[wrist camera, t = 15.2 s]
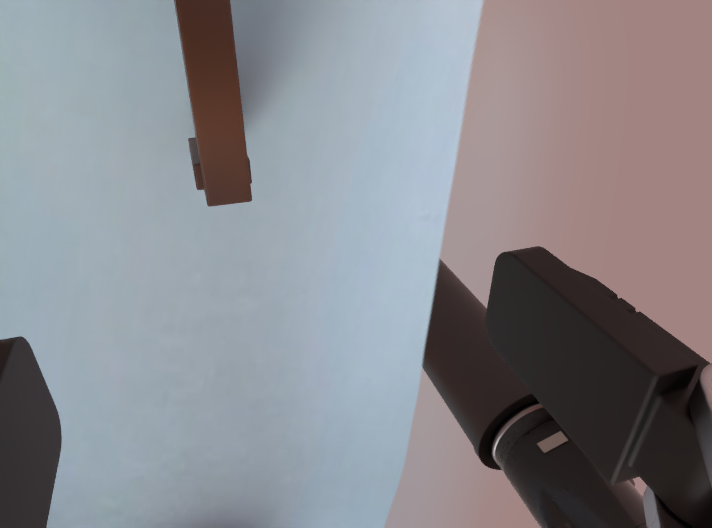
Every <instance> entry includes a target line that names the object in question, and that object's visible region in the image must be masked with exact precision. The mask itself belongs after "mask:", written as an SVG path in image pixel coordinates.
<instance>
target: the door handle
mask: <svg viewBox="0 0 712 528" xmlns="http://www.w3.org/2000/svg"><path fill="white" fill-rule="evenodd" d="M174 2H175V9H176V15H177V21H178V27H179V34H180V40H181V46H182V53H183V59H184V65H185V72H186V78H187V84H188V90H189V97H190V103H191V109H192V116H193V122H194V128H195V135H196V138H189V139H188V141H189V147H190V153H191V159H192V165H193V170H194V176H195V181H196V187H197V190H204V191H205V195H206V200H207V205H208V206H218V205H226V204H234V203H242V202H250V201H252V195H251V186H250V184H251V183H252V179H251V170H250V160H249V158H248V156H247V150H246V141H245V132H244V123H243V114H242V105H241V96H240V87H239V78H238V69H237V59H236V50H235V41H234V32H233V23H232V14H231V5H230V0H174Z"/></svg>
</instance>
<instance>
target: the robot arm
mask: <svg viewBox="0 0 712 528" xmlns="http://www.w3.org/2000/svg"><path fill="white" fill-rule="evenodd" d="M485 324H486V331H487V335H488V338H489V341H490V343H491V345H492V346H493V348H494V349H495V351H496V352H497V353H498V354H499V355H500V357H501V358H502V359H503V360H504V361H505V362H506V364H507V365H508V366H509V367H510V368H511V369H512V371H513V372H514V373H515V374H516V375H517V376H518V377H519V379H520V380H521V381H522V382H523V383H524V384H525V386H526V387H527V388H528V389H529V390H530V391H531V393H532V394H533V395H534V396H535V397H536V398H537V400H538V401H534V402H531V403H529V404H526V405H524V406H522V407H521V408H519V409H517V410H516V411H514V412H513V413H512V414H510V415H509V416H508V417H507V418H506V419H505V420H504V421H503V422H502V423H501V424H500V425H499V426H498V428H497V429H496V431H495V432H494V434H493V436H492V438H491V441H490V446H489V450H490V454H491V456H492V457H493V459H494V460H495V462H496V463H497V464H498V465H499V466H500V468H501V469H502V471H503V472H504V473H505V475H506V476H507V478H508V479H509V481H510V482H511V484H512V486H513V487H514V489H515V490H516V491H517V493H518V494H519V496H520V497H521V499H522V500H523V502H524V503H525V505H526V506H527V508H528V509H529V511H530V512H531V514H532V515H533V517H534V518H535V520H536V521H537V523H538V524H539V526H540V527H541V528H712V363H711V364H710V363H709V362H708V361H706V360H705V359H704V358H702V357H701V356H700V355H698V354H697V353H695V352H694V351H692V350H691V349H690V348H689V347H687V346H686V345H685V344H683V343H682V342H681V341H679V340H678V339H676V338H675V337H674V336H672V335H671V334H670V333H668V332H667V331H665V330H664V329H663V328H662V327H660V326H659V325H657V324H656V323H655V322H653V321H652V320H651V319H649V318H648V317H647V316H645V315H644V314H643V313H641V312H636V311H635V308H634V307H633V306H632V305H630V304H629V303H628V302H626V301H625V300H623V299H622V298H619V299H618V297H617V295H616V294H615V293H614V292H613V291H611V290H610V289H609V288H607V287H606V286H605V285H603V284H602V283H600V282H599V281H598V280H597V279H595V278H593V277H590V276H588V275H586V274H583V273H581V272H579V271H576V270H574V269H572V268H570V267H569V266H567V265H566V264H564V263H563V262H562V261H561V260H559V259H558V258H557V257H555V256H554V255H553V254H551V253H550V252H549V251H547V250H546V249H544V248H542V247H538V246H537V247H531V248H525V249H520V250H514V251H508V252H503V253H501V254H500V255H499V256H498V257H497V259H496V262H495V266H494V271H493V277H492V284H491V289H490V295H489V301H488V307H487V312H486V319H485ZM60 451H61V425H60V419H59V415H58V411H57V409H56V406H55V404H54V401H53V399H52V396H51V394H50V392H49V389H48V387H47V384H46V382H45V380H44V377H43V375H42V373H41V370H40V368H39V365H38V363H37V361H36V358H35V356H34V353H33V351H32V349H31V347H30V345H29V343H28V342H27V340H26V339H25V338H23V337H15V338H9V339H3V340H0V528H46V525H47V520H48V515H49V509H50V504H51V499H52V493H53V488H54V483H55V478H56V472H57V467H58V462H59V457H60ZM636 477H640V478H641V479H642V480H643V481H644V482H645V483H646V484H647V488H646V490H645V492H644V495H643V496H642V495H641V494H640V492H639V491H638V490H637V489H636V488H635V483H634V481H633V478H636Z"/></svg>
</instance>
